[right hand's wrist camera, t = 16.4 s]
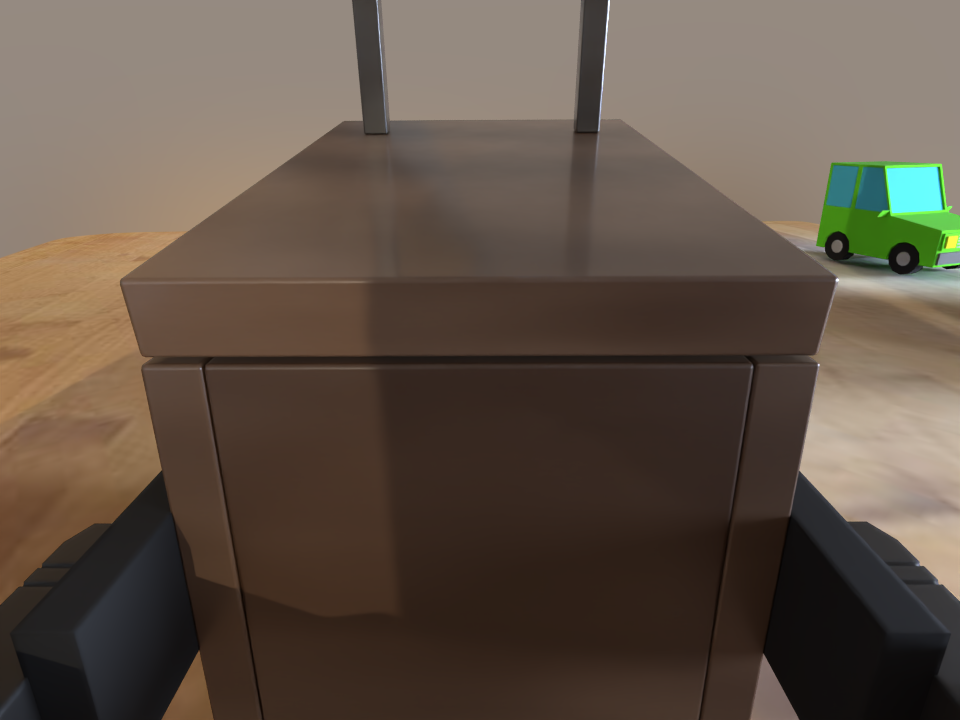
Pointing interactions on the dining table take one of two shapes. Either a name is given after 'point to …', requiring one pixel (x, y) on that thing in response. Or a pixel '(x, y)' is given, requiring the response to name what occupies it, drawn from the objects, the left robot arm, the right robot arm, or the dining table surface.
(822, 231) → the toy car
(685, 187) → the lid
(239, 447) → the chest
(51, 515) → the dining table surface
